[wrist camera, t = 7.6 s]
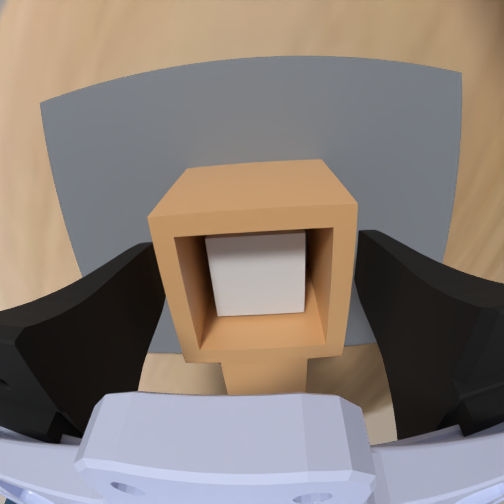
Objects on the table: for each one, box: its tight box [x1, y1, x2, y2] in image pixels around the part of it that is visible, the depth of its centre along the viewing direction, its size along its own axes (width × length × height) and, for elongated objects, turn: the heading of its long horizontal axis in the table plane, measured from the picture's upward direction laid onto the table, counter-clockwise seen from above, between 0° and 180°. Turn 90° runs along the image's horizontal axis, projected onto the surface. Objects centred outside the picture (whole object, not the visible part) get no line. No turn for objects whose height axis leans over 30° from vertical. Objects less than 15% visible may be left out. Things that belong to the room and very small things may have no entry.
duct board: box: [40, 56, 462, 353], centre depth 12 cm, size 18×14×4 cm
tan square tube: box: [147, 159, 358, 395], centre depth 12 cm, size 9×5×5 cm, turn 4°
